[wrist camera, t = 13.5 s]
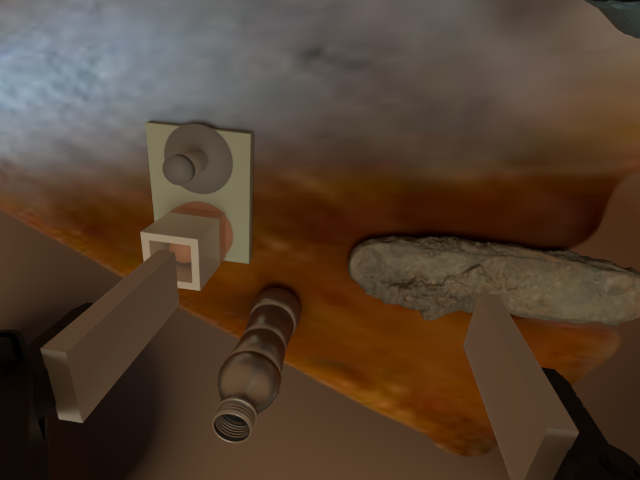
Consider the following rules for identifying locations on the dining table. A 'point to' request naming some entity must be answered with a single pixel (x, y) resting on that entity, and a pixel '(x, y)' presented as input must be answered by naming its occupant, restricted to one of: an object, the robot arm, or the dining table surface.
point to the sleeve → (189, 243)
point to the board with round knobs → (204, 179)
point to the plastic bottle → (255, 365)
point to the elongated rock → (494, 279)
